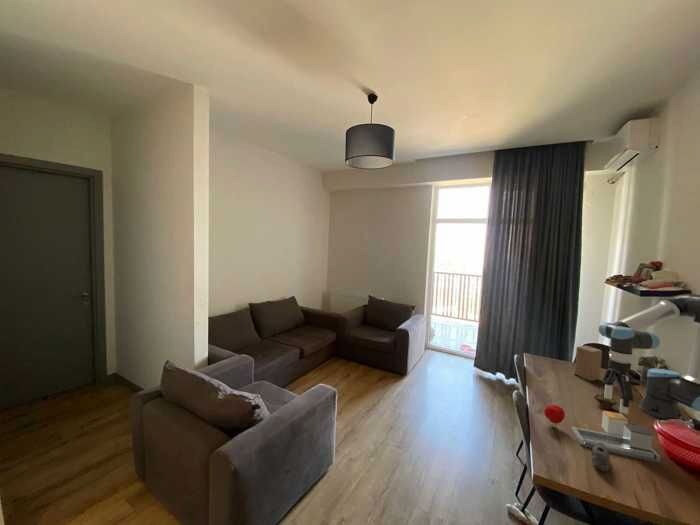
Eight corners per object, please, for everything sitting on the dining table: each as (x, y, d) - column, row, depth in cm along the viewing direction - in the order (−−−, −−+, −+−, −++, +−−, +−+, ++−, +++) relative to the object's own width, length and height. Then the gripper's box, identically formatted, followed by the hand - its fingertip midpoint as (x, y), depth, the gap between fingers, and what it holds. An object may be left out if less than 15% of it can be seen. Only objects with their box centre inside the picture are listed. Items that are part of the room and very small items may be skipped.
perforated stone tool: (592, 449, 121) (593, 434, 120) (608, 456, 117) (610, 440, 117) (590, 469, 110) (591, 452, 109) (608, 477, 106) (610, 459, 106)
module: (619, 430, 135) (621, 413, 134) (626, 437, 130) (628, 420, 129) (601, 426, 137) (602, 410, 137) (607, 433, 132) (608, 416, 132)
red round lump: (552, 433, 131) (554, 412, 130) (538, 423, 138) (540, 403, 137) (568, 430, 133) (569, 409, 133) (553, 421, 140) (555, 401, 140)
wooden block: (573, 375, 194) (576, 346, 193) (584, 373, 197) (586, 345, 196) (589, 381, 185) (592, 351, 183) (600, 380, 188) (603, 350, 186)
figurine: (593, 406, 155) (594, 384, 154) (593, 400, 161) (595, 380, 160) (617, 413, 148) (619, 391, 148) (617, 407, 154) (619, 386, 154)
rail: (643, 446, 124) (645, 424, 123) (659, 462, 114) (661, 439, 114) (571, 431, 132) (573, 411, 132) (581, 445, 123) (582, 423, 122)
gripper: (596, 350, 144) (592, 391, 146) (625, 369, 121) (620, 417, 122) (615, 352, 142) (611, 394, 143) (647, 373, 118) (642, 422, 120)
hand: (615, 405), depth 133 cm, fingers open, 13 cm apart
